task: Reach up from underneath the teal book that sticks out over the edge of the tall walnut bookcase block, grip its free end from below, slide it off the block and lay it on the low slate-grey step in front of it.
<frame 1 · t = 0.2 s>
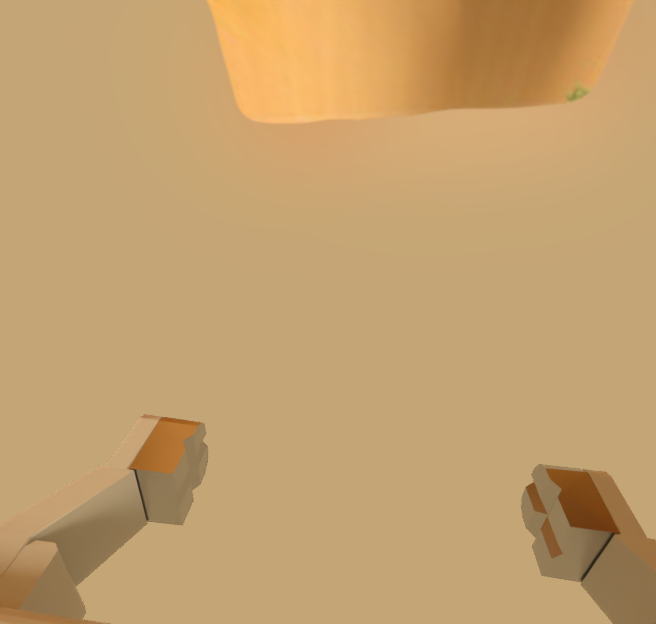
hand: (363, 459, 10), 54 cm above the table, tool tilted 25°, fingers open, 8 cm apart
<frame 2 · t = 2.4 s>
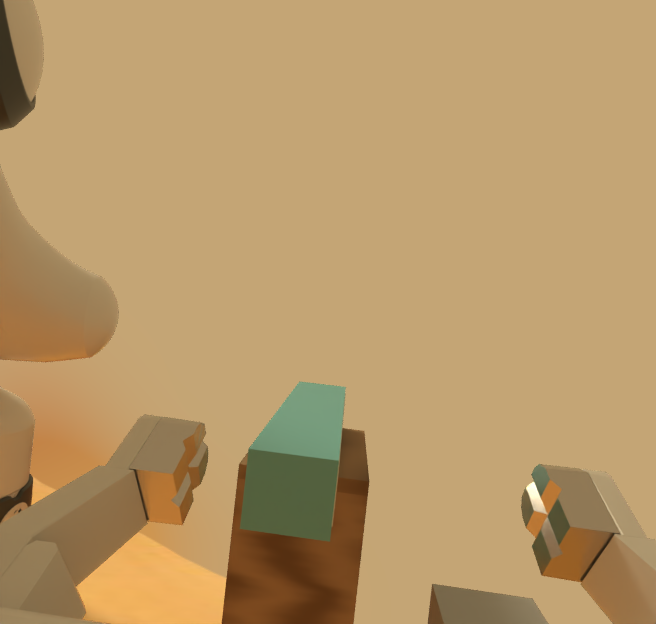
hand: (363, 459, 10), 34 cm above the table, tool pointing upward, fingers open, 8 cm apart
book: (306, 462, 30), point 26 cm above the table, touching bookcase block
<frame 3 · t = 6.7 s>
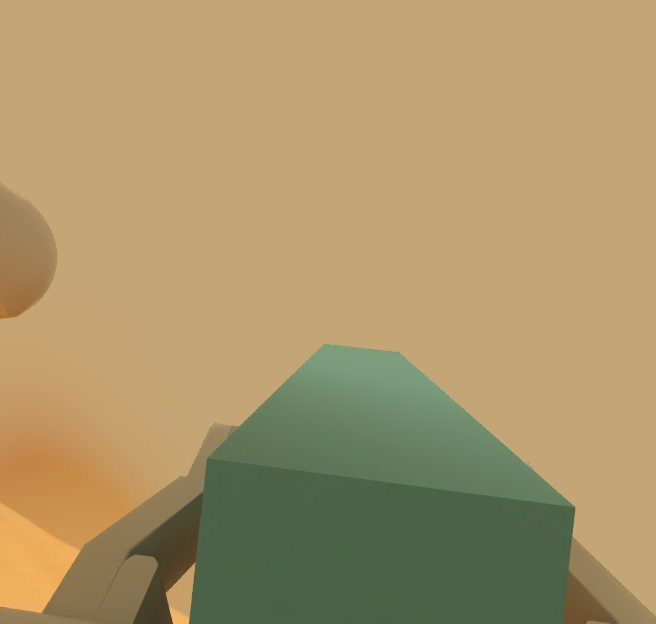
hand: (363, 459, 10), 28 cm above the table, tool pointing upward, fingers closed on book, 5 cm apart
book: (353, 480, 15), point 26 cm above the table, touching bookcase block, gripper
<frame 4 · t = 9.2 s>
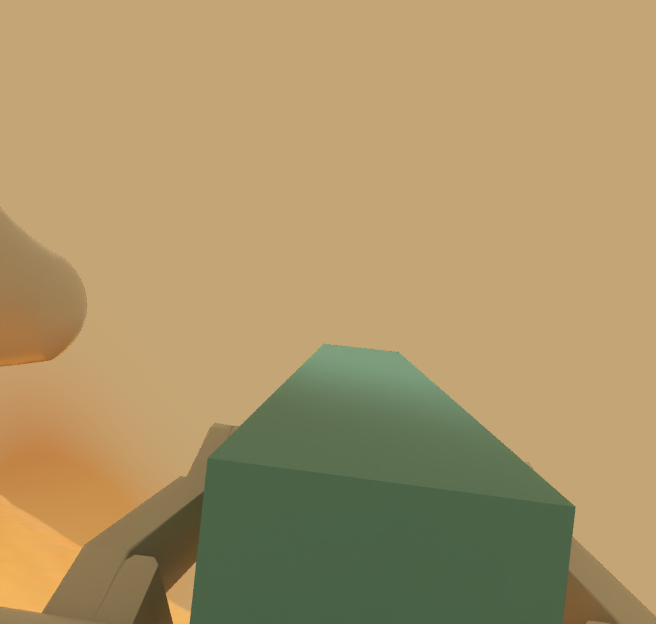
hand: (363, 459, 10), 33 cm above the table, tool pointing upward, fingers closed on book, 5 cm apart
book: (353, 480, 15), point 30 cm above the table, touching gripper
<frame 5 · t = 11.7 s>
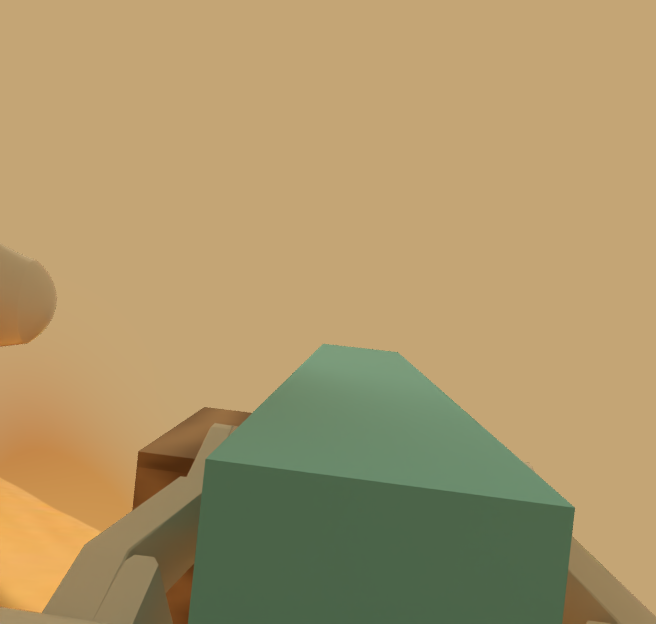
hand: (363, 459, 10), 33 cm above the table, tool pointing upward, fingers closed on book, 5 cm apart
book: (352, 480, 15), point 30 cm above the table, touching gripper
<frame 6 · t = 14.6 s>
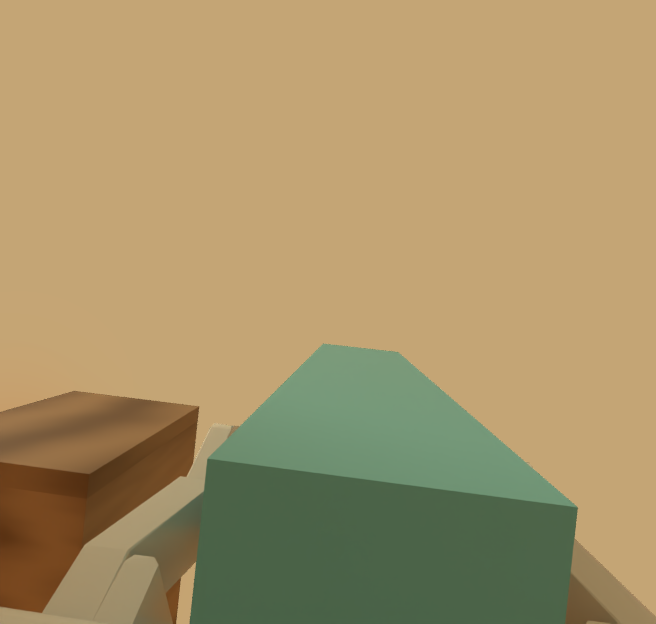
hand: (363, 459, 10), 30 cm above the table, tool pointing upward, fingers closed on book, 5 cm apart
book: (353, 480, 15), point 28 cm above the table, touching gripper
when the fingers open (20 cm above the table, at t = 17.0 s): book drops 2 cm, resting on step.
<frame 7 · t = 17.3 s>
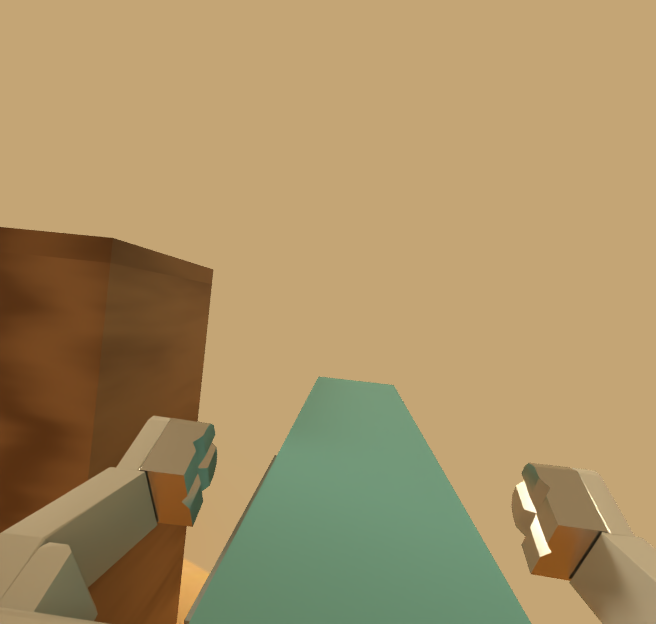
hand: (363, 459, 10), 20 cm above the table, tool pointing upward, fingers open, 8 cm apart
book: (346, 536, 15), point 16 cm above the table, touching step
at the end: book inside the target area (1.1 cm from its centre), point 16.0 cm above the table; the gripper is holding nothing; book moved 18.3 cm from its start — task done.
